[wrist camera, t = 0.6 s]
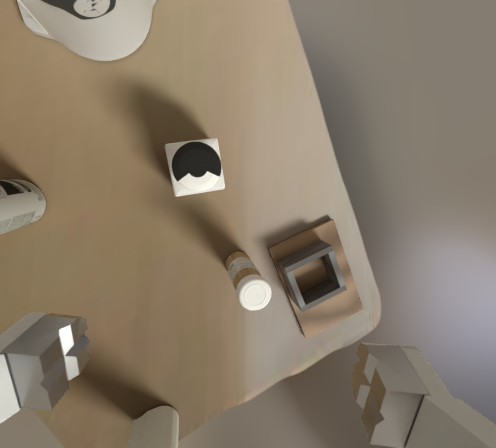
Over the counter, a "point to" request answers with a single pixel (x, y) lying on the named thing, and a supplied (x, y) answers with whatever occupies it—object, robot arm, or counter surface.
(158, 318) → the counter surface
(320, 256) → the socket block
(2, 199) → the spray can
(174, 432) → the paper towel roll
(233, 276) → the sprinkles bottle
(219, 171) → the medicine bottle
